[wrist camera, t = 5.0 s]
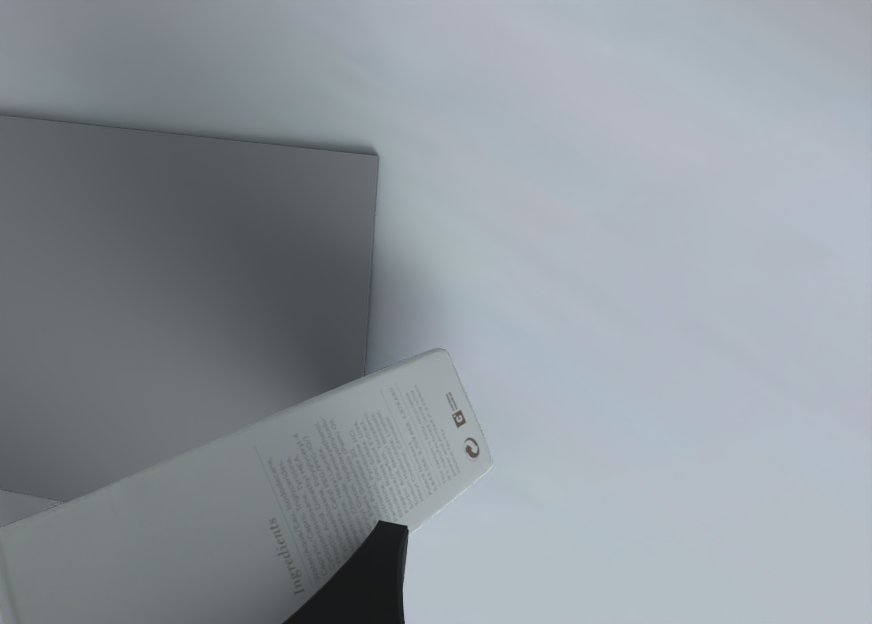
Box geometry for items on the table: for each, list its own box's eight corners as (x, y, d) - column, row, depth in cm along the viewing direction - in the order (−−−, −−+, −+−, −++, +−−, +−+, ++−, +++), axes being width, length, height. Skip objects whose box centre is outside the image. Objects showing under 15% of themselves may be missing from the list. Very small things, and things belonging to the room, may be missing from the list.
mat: (-2, 484, 25) (-8, 488, 25) (-58, 108, 20) (-67, 108, 20) (352, 550, 23) (350, 555, 23) (379, 155, 19) (376, 155, 18)
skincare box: (446, 338, 18) (-32, 509, 8) (505, 472, 17) (72, 830, 7) (329, 395, 21) (-99, 560, 11) (374, 506, 21) (-31, 778, 11)
